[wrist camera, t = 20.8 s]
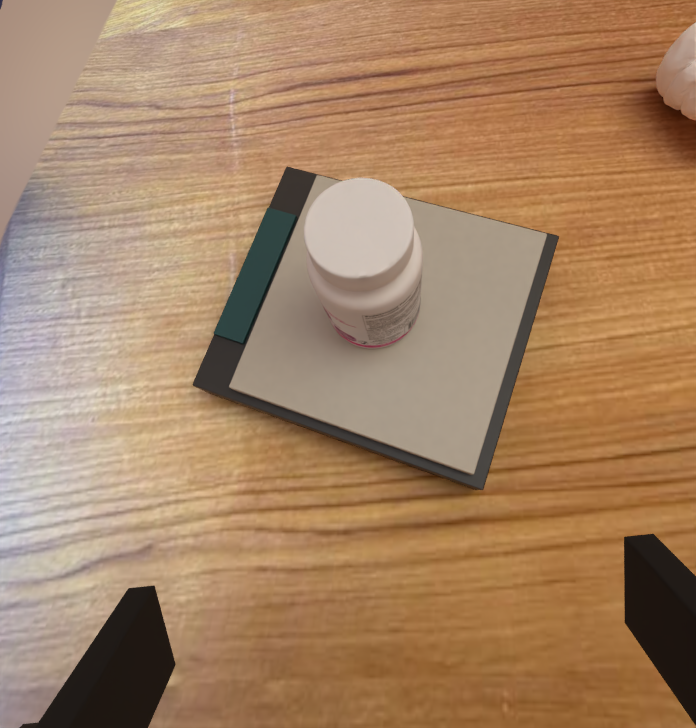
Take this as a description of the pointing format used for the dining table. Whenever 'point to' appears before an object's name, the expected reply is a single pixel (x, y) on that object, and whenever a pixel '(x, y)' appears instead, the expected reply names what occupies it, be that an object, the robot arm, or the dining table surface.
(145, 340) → the dining table surface
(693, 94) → the garlic bulb
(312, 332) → the scale
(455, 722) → the dining table surface
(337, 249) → the pill bottle
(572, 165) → the dining table surface
